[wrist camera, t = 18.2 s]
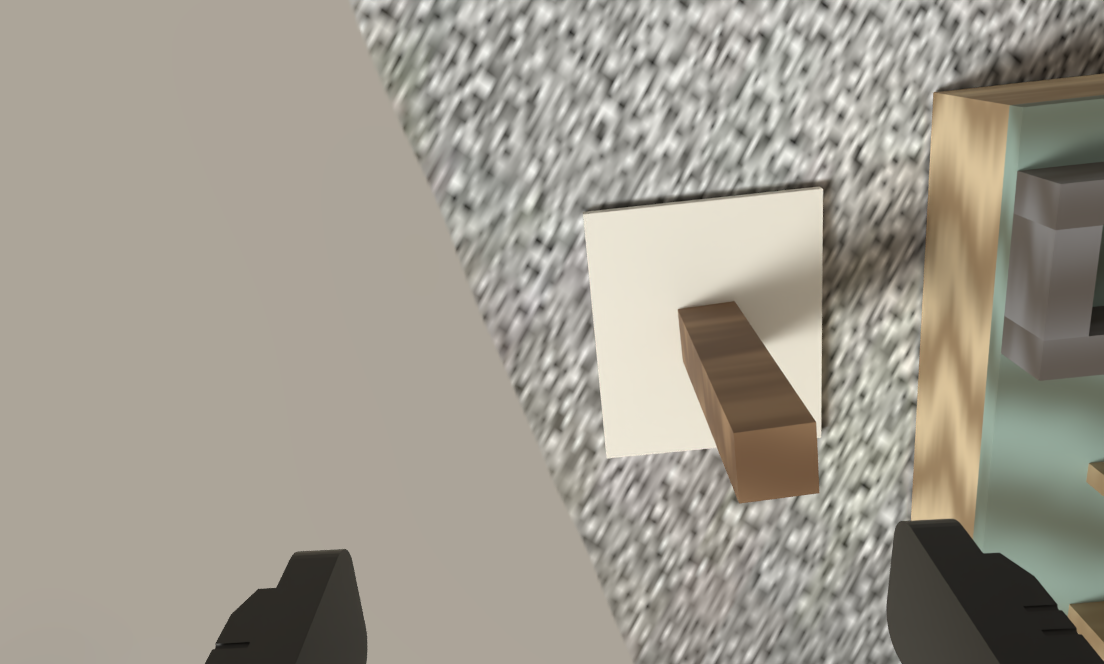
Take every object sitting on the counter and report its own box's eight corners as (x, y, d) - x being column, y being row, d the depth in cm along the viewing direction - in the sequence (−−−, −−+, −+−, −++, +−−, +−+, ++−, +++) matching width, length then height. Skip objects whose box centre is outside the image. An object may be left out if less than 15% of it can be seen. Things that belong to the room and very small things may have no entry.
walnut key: (677, 309, 43) (733, 433, 30) (734, 301, 43) (816, 422, 30) (682, 361, 44) (739, 503, 31) (738, 353, 44) (819, 493, 31)
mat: (582, 211, 42) (583, 214, 41) (819, 186, 41) (822, 188, 41) (606, 453, 46) (606, 458, 46) (818, 432, 46) (821, 437, 46)
